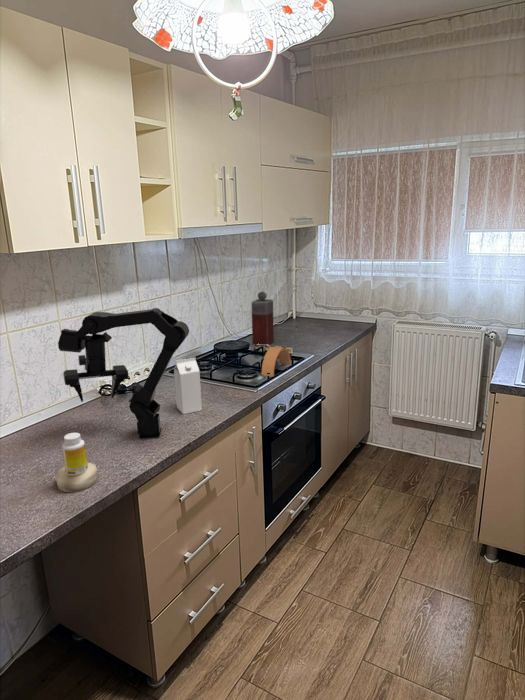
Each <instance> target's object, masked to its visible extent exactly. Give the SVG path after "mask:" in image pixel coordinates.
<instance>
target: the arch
mask: <svg viewBox="0 0 525 700" xmlns="http://www.w3.org/2000/svg"><path fill="white" fill-rule="evenodd" d="M277 360H278V363H279V364H284V365H291V364H292V362H291V361H292V359H291V353H290V352H289V350H288V349H287V348H286V347H278V346H271V347H269V348H268V350H267V351H266V352H265V354H264V357H263V361H262V364H261V376H265V377H275V366H276V362H277ZM267 373H270V374H267Z"/></svg>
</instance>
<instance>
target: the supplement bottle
mask: <svg viewBox="0 0 525 700" xmlns="http://www.w3.org/2000/svg"><path fill="white" fill-rule="evenodd" d="M81 437H82V436H81V433H79V432H69V433H67V434H64V438H63V439H64V440H63V441H64V442H63V443H62V444H61V449H62V451H61V452H62V457H63V464H64V465H63V466H64V467H65V472H66V474H68V475H71V476H76V475H80V474H82V473H84V472H86V470H87V469H88V465H87V462H88V459H87V452H86V444H85V443H86V442H85V441H84V440H83V439H82V438H81Z"/></svg>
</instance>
